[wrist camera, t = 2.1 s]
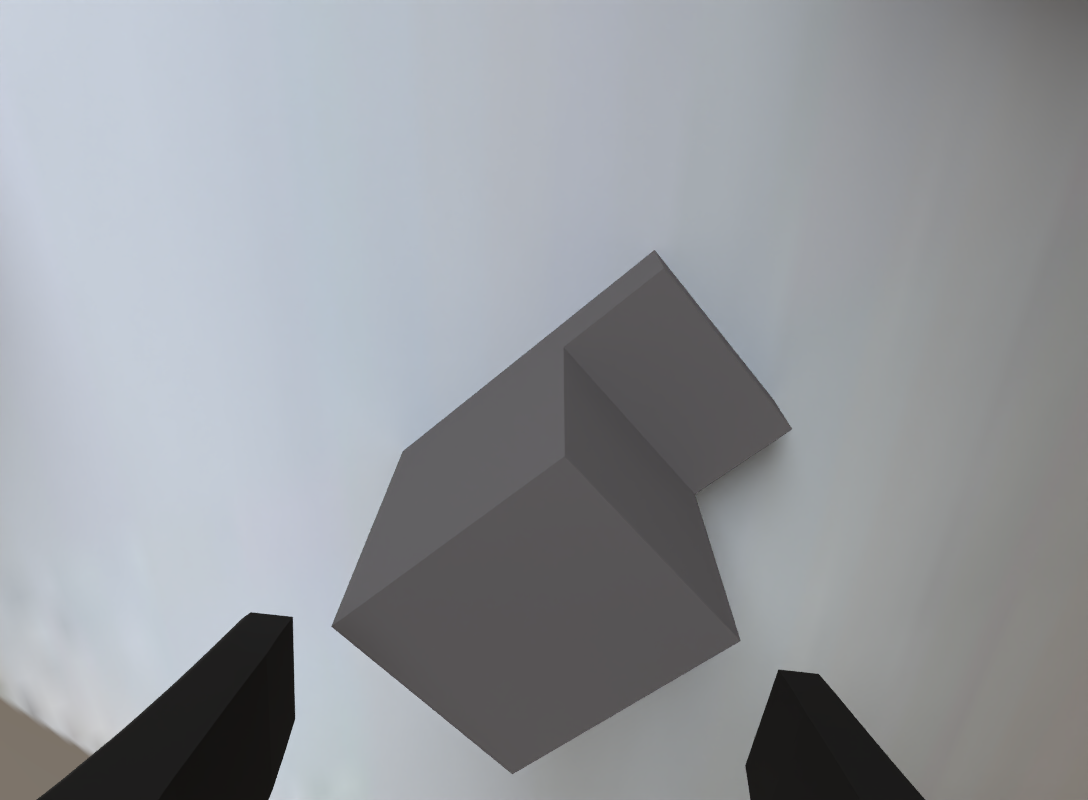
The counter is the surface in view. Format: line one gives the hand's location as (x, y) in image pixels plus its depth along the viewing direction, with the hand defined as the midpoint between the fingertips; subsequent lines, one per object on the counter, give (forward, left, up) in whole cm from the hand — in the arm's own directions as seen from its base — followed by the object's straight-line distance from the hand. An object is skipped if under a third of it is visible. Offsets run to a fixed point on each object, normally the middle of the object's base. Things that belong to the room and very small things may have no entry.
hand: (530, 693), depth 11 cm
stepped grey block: (0, -1, -7) cm, 7 cm away
